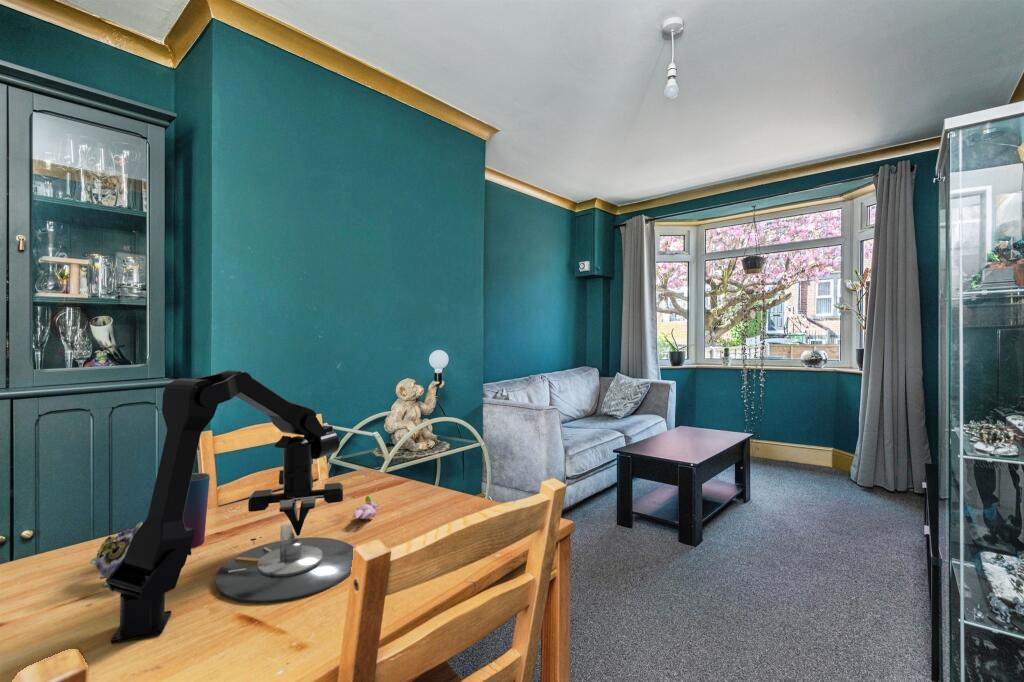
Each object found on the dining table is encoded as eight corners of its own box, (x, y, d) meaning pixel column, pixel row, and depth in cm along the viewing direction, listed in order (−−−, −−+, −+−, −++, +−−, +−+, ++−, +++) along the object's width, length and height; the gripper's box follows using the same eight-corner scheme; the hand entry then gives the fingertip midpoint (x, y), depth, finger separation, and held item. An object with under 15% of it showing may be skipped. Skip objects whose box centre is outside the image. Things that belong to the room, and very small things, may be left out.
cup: (191, 552, 105) (192, 482, 105) (164, 548, 107) (165, 480, 107) (216, 539, 112) (217, 474, 112) (190, 536, 113) (191, 471, 113)
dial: (327, 567, 97) (327, 548, 97) (258, 581, 91) (259, 561, 91) (314, 536, 111) (314, 520, 111) (254, 547, 105) (255, 529, 105)
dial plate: (363, 587, 92) (364, 581, 92) (202, 615, 82) (202, 608, 82) (352, 535, 116) (353, 530, 116) (227, 551, 106) (227, 546, 106)
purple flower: (360, 514, 134) (346, 525, 119) (361, 491, 135) (347, 500, 120) (383, 513, 134) (372, 525, 119) (384, 491, 135) (373, 500, 120)
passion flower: (109, 614, 91) (69, 563, 90) (160, 576, 102) (124, 530, 101) (146, 589, 88) (105, 536, 88) (194, 552, 99) (158, 504, 98)
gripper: (342, 452, 118) (342, 516, 118) (256, 459, 112) (256, 526, 112) (342, 464, 108) (343, 534, 108) (247, 472, 101) (248, 547, 102)
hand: (298, 535), depth 108 cm, fingers closed
